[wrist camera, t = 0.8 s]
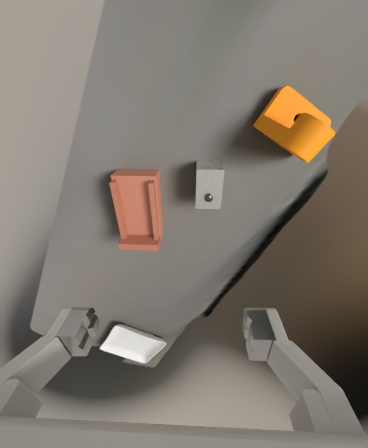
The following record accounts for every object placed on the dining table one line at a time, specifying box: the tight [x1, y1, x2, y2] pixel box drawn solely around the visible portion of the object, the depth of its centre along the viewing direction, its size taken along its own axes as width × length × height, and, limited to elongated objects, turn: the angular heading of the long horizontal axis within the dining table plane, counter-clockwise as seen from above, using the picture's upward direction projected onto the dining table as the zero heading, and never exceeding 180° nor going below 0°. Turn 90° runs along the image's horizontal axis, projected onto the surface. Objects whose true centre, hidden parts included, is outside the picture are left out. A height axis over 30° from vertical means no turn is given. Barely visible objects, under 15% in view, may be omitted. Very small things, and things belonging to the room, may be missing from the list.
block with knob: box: [196, 161, 224, 209], centre depth 41 cm, size 8×5×6 cm, turn 0°
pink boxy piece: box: [109, 169, 163, 251], centre depth 44 cm, size 16×9×8 cm, turn 0°
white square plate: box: [100, 324, 166, 363], centre depth 80 cm, size 21×21×3 cm
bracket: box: [253, 86, 335, 163], centre depth 32 cm, size 11×7×12 cm, turn 60°
